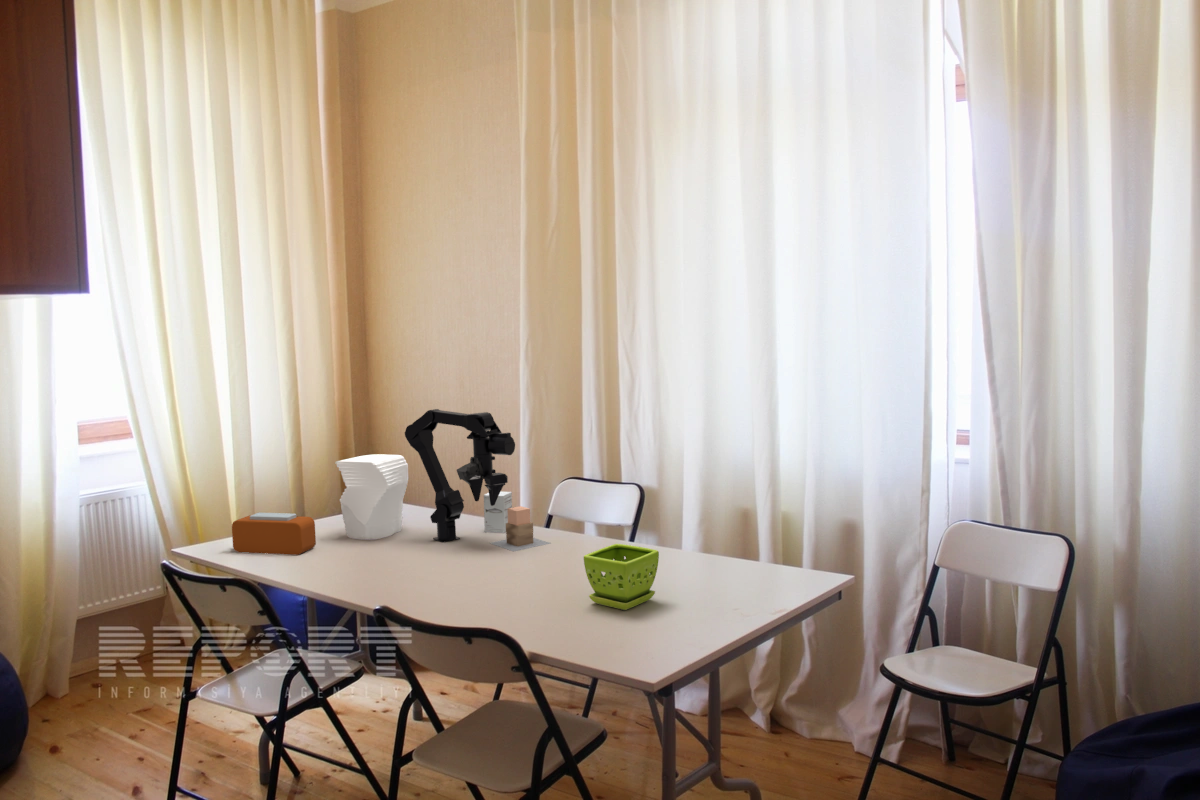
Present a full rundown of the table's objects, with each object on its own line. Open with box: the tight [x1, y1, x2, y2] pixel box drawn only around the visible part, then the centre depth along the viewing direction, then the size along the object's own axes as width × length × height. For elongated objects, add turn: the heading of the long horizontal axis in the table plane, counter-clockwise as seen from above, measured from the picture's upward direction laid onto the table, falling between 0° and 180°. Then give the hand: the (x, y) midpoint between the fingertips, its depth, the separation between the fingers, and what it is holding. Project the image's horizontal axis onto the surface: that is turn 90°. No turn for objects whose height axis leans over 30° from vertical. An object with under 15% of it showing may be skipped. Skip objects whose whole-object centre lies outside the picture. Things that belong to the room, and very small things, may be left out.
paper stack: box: [334, 453, 410, 541], centre depth 306 cm, size 21×27×26 cm
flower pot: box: [583, 543, 660, 611], centre depth 228 cm, size 14×14×13 cm
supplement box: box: [483, 490, 513, 534], centre depth 307 cm, size 7×7×13 cm
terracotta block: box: [507, 505, 531, 525], centre depth 288 cm, size 5×5×4 cm
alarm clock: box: [231, 512, 317, 556], centre depth 288 cm, size 24×8×11 cm, turn 76°
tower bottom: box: [505, 532, 534, 547], centre depth 289 cm, size 6×6×3 cm
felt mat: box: [489, 537, 552, 552], centre depth 289 cm, size 14×14×1 cm
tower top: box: [505, 521, 534, 536], centre depth 289 cm, size 6×6×3 cm
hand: (484, 503), depth 288 cm, fingers open, 9 cm apart
